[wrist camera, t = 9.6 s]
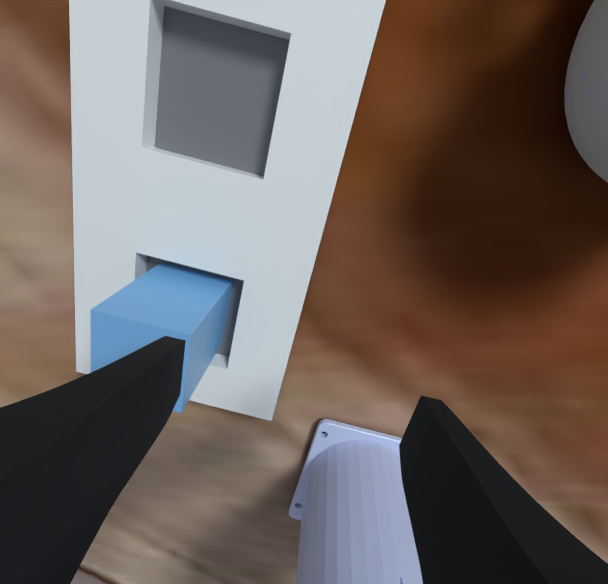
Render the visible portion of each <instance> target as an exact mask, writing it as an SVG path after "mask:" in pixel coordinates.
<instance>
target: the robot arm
mask: <svg viewBox="0 0 608 584" xmlns="http://www.w3.org/2000/svg"><path fill="white" fill-rule="evenodd" d="M185 341H186V340H182V339H178V338H173V337H169V336H164V337H162V338H160V339H158V340H156V341H154V342H152V343H150V344H148V345H146V346H144V347H142V348H140V349H138V350H136V351H134V352H132V353H130V354H128V355H126V356H124V357H122V358H120V359H118V360H116V361H114V362H112V363H110V364H108V365H106V366H104V367H102V368H100V369H98V370H95V371H93V372H91V373H89V374H87V375H84V376H82V377H80V378H78V379H75V380H73V381H71V382H69V383H66V384H64V385H62V386H59V387H57V388H54V389H52V390H49V391H46V392H44V393H41V394H38V395H36V396H33V397H30V398H27V399H25V400H22V401H19V402H16V403H13V404H10V405H7V406H4V407H1V408H0V584H70V583H71V581H72V579H73V577H74V575H75V573H76V572H77V570H78V568H79V566H80V564H81V562H82V560H83V558H84V556H85V554H86V552H87V551H88V549H89V547H90V545H91V543H92V541H93V540H94V538H95V536H96V534H97V532H98V530H99V529H100V527H101V525H102V523H103V521H104V519H105V517H106V516H107V514H108V512H109V510H110V509H111V507H112V506H113V504H114V502H115V501H116V499H117V497H118V496H119V494H120V493H121V491H122V490H123V488H124V487H125V485H126V484H127V482H128V481H129V479H130V478H131V476H132V475H133V473H134V472H135V470H136V469H137V467H138V466H139V464H140V462H141V461H142V459H143V458H144V456H145V455H146V453H147V452H148V450H149V449H150V447H151V446H152V444H153V443H154V441H155V440H156V438H157V437H158V435H159V434H160V432H161V431H162V429H163V427H164V426H165V424H166V422H167V420H168V418H169V416H170V415H171V413H172V411H173V409H174V406H175V404H176V402H177V400H178V398H179V396H180V392H181V382H182V372H183V362H184V352H185ZM321 432H326V433H321ZM289 516H290V517H291V518H293V519H297V520H301V529H300V539H299V550H298V561H297V572H296V583H295V584H608V564H607V563H606V562H605V561H603V560H602V559H601V558H600V557H598V556H597V555H596V554H595V553H594V552H592V551H591V550H590V549H589V548H588V547H586V546H585V545H584V544H583V543H582V542H581V541H579V540H578V539H577V538H576V537H575V536H574V535H572V534H571V533H570V532H569V531H568V530H567V529H566V528H565V527H564V526H562V525H561V524H560V523H559V522H558V521H557V520H556V519H555V518H554V517H553V516H551V515H550V514H549V513H548V512H547V511H546V510H545V509H544V508H543V507H542V506H541V505H540V504H538V503H537V502H536V501H535V500H534V499H533V498H532V497H531V496H530V495H529V494H528V493H527V492H526V491H525V490H524V489H523V488H522V487H521V486H520V485H519V484H518V483H517V482H516V481H515V480H514V479H513V478H512V477H511V476H510V475H509V474H508V473H507V471H506V470H505V469H504V468H503V467H502V466H501V465H500V464H499V463H498V462H497V461H496V460H495V459H494V458H493V457H492V455H491V454H490V453H489V452H488V451H487V450H486V449H485V448H484V447H483V446H482V444H481V443H480V442H479V441H478V440H477V439H476V438H475V437H474V436H473V434H472V433H471V432H470V431H469V430H468V429H467V428H466V427H465V425H464V424H463V423H462V422H461V421H460V420H459V419H458V418H457V416H456V415H455V414H454V413H453V412H452V411H451V410H450V409H449V408H448V407H447V406H446V405H445V404H444V403H443V402H442V401H441V400H438V399H433V398H429V397H425V396H421V397H420V399H419V402H418V404H417V406H416V408H415V411H414V413H413V415H412V417H411V420H410V422H409V424H408V427H407V429H406V431H405V433H404V436H403V438H400V437H396V436H392V435H388V434H384V433H380V432H376V431H372V430H368V429H364V428H360V427H356V426H352V425H349V424H345V423H341V422H337V421H333V420H329V419H323V420H321V421H320V422H319V423H318V426H317V429H316V432H315V435H314V438H313V440H312V443H311V446H310V449H309V452H308V455H307V458H306V461H305V464H304V467H303V470H302V472H301V475H300V478H299V481H298V484H297V487H296V490H295V493H294V496H293V499H292V502H291V505H290V507H289Z"/></svg>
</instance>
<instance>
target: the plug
mask: <svg viewBox="0 0 608 584" xmlns="http://www.w3.org/2000/svg"><path fill="white" fill-rule="evenodd" d="M232 284H233V281H232V280H228V279H224V278H220V277H217V276H213V275H209V274H205V273H201V272H197V271H193V270H190V269H186V268H182V267H178V266H174V265H170V264H166V263H162V262H161V263H160V264H158V265H157V266H155V267H154V268H152V269H151V270H149V271H148V272H146V273H145V274H143V275H142V276H140V277H139V278H137V279H136V280H134V281H133V282H131V283H130V284H128V285H127V286H125V287H124V288H122V289H121V290H119V291H118V292H116V293H115V294H113V295H112V296H110V297H109V298H107V299H106V300H104V301H103V302H101V303H100V304H98V305H97V306H95V307H94V308H92V309H91V310H90V314H91V372H93V371H95V370H98V369H100V368H102V367H104V366H106V365H108V364H110V363H112V362H114V361H116V360H118V359H120V358H122V357H124V356H126V355H128V354H130V353H132V352H134V351H136V350H138V349H140V348H142V347H144V346H146V345H148V344H150V343H152V342H154V341H156V340H158V339H160V338H162V337H164V336H169V337H173V338H178V339H182V340H186V341H185V352H184V362H183V372H182V382H181V392H180V396H179V398H178V400H177V402H176V404H175V406H174V409H173V411H174V412H178V413H182V411H183V409H184V408H185V406H186V404H187V402H188V401H189V399H190V397H191V395H192V394H193V392H194V390H195V389H196V387H197V385H198V383H199V382H200V380H201V378H202V376H203V375H204V373H205V371H206V370H207V368H208V366H209V364H210V363H211V361H212V359H213V357H214V356H215V354H216V352H217V350H218V349H219V347H220V345H221V344H222V342H223V336H224V330H225V324H226V319H227V313H228V307H229V302H230V296H231V290H232Z"/></svg>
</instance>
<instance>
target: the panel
mask: <svg viewBox="0 0 608 584" xmlns="http://www.w3.org/2000/svg"><path fill="white" fill-rule="evenodd" d="M385 1H386V0H69V12H70V65H71V118H72V171H73V223H74V276H75V329H76V372H80V373H84V374H89V373H91V314H90V310H91V309H92V308H94V307H95V306H97V305H98V304H100V303H101V302H103V301H104V300H106V299H107V298H109V297H110V296H112V295H113V294H115V293H116V292H118V291H119V290H121V289H122V288H124V287H125V286H127V285H128V284H130V283H131V282H133V281H134V280H136V279H137V278H139V277H140V276H142V275H143V274H145V273H146V272H148V271H149V270H151V269H152V268H154V267H155V266H157V265H158V264H160V263H161V262H162V263H166V264H170V265H174V266H178V267H182V268H186V269H190V270H193V271H197V272H201V273H205V274H209V275H213V276H217V277H220V278H224V279H228V280H232V281H233V284H232V290H231V296H230V302H229V307H228V313H227V319H226V324H225V330H224V336H223V342H222V344H221V345H220V347H219V349H218V350H217V352H216V354H215V356H214V357H213V359H212V361H211V363H210V364H209V366H208V368H207V370H206V371H205V373H204V375H203V376H202V378H201V380H200V382H199V383H198V385H197V387H196V389H195V390H194V392H193V394H192V395H191V397H190V399H189V400H190V401H194V402H198V403H202V404H206V405H210V406H214V407H218V408H222V409H226V410H230V411H234V412H238V413H242V414H246V415H249V416H253V417H257V418H261V419H265V420H269V421H272V417H273V413H274V410H275V406H276V402H277V399H278V395H279V391H280V388H281V384H282V380H283V377H284V373H285V369H286V365H287V362H288V358H289V354H290V351H291V347H292V343H293V340H294V336H295V332H296V329H297V325H298V321H299V318H300V314H301V310H302V307H303V303H304V299H305V296H306V292H307V288H308V285H309V281H310V277H311V274H312V270H313V266H314V262H315V259H316V255H317V251H318V248H319V244H320V240H321V237H322V233H323V229H324V226H325V222H326V218H327V215H328V211H329V207H330V204H331V200H332V196H333V193H334V189H335V185H336V182H337V178H338V174H339V171H340V167H341V163H342V159H343V156H344V152H345V148H346V145H347V141H348V137H349V134H350V130H351V126H352V123H353V119H354V115H355V112H356V108H357V104H358V101H359V97H360V93H361V90H362V86H363V82H364V79H365V75H366V71H367V68H368V64H369V60H370V56H371V53H372V49H373V45H374V42H375V38H376V34H377V31H378V27H379V23H380V20H381V16H382V12H383V9H384V5H385Z"/></svg>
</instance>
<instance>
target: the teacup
mask: <svg viewBox="0 0 608 584" xmlns="http://www.w3.org/2000/svg"><path fill="white" fill-rule="evenodd" d="M564 98H565V115H566V119H567V124H568V129H569V132H570V135H571V137H572V140H573V142H574V145H575V147H576V149H577V151H578V153H579V154H580V155H581V157H582V158H583V159H584V161H585V162H586V163H587V165H588V166H589V167H590V168H591V169H592V170H593V171H594V172H595V173H596V174H597V175H598V176H600V177H601V178H602V179H604V180H605V181H606V182H608V0H594V1H593V3H592V5H591V7H590V9H589V11H588V12H587V14H586V17H585V19H584V21H583V23H582V25H581V27H580V29H579V32H578V34H577V37H576V40H575V43H574V46H573V49H572V52H571V56H570V59H569V63H568V68H567V74H566V80H565V91H564Z"/></svg>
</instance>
